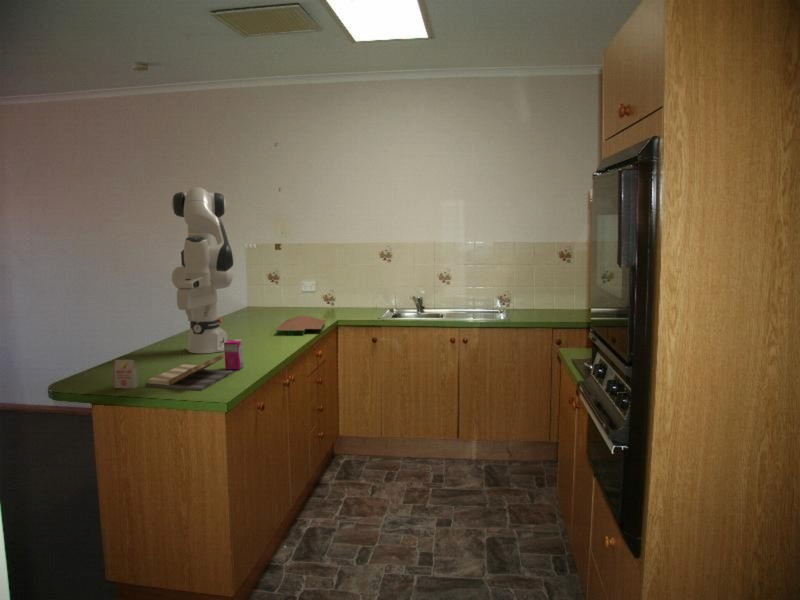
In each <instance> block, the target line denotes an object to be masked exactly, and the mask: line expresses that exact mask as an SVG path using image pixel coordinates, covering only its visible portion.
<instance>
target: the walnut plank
mask: <svg viewBox="0 0 800 600" xmlns="http://www.w3.org/2000/svg"><path fill="white" fill-rule="evenodd" d="M223 359H225V355H224V354H223V353H222V354H219V355H217V356H216V357H214V358H210V359H209V360H206V361H205V362H202V363H200V364H196V365H197V366H195V367H193V368H191V369H189V370H187V371H186V372H184V373H182V374H180V375H178V376H177V377H175V378H173V379H171V380H170V382H171V384H173V383H175V382H177V381H179V380H182V379H184V378H186V377H188V376H190V375H192V374H194V373H196V372H198V371H201V370H203V369H208V367H210V366H212V365H214V364H216V363H217V362H219V361H221V360H223Z"/></svg>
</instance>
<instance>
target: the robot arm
mask: <svg viewBox="0 0 800 600" xmlns="http://www.w3.org/2000/svg"><path fill="white" fill-rule="evenodd" d="M171 209H172V211H173V213H174V215H175V216H177V217H179V218H183V219H184V222H185V223H186V225H187V237H185V239H184V244H183V245H184V246H183V250H181V251H180V254H181V256H180V257H181V259H180V261H181V264H180V265H181V266H177V267H175V268H174V269H173V271H172V273H171V281H172V284H173V286H174V287H175V288H176V289H177V291H176V304H177V308H178V309H179V310H181V311H185V314H186V316H187V320H188V322H190V323H189V325H190V326H189V327H190V331H188V337H187V338H188V339H187V340H188V343H187V346H186V347H185V350H187V351H188V352H189V353H190V354H191V353H192V354H212V353H222V352H224V343H225V342H226V341H228V340H229V339H228V338H229V337H228V333H227V332H226V331H225V330H224V329H222V327H220V324H222V322H223V321H222V318H218V316H217V313H218V312H217V311H218V309H217V303H218V293H217V290H220V289H225V288H226V289H227V288H229V287H230V285H231V284H232V282H233V279H234V278H233V272H232V271H231V268H232V267H234V262H235V256H234V252H233V250H232V248H231V246H230V243H229V239H228V235H227V232H226V229H225V226H224V223H223V221H222V219H221V217H223V216H224V215H225V212H226V211H227V201H226V199H225V196H224V195H223V194H222V193H219V192H210V191H209V192H208V191H207V190H206V189H205V188H204V187H198V186H197V187H193V188H190V189H189V190H188V191H187V192H183V191H180V192H175V194H173V197H172V198H171ZM215 241H216V242H217V244H215Z"/></svg>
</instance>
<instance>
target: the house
mask: <svg viewBox="0 0 800 600" xmlns="http://www.w3.org/2000/svg"><path fill="white" fill-rule="evenodd" d="M326 321H327V320H326V319H323V318H318V317H314V316H308V315H304V314H301V315H299V316H295V317H292V318H287V319H285V320H284V321H283V322H282V323H281V324H280V325H279V326H278V327H277V328H276V329H275V331H276V332H277V334H276V335H277V336H279V335H280V334H281V333H282V332H287V333H284V336H289V335H291V336H294V334H295V332H300V334H301V335H302V336H304V335H305V333H306V332H307V331H312V330H313V331H318V330H319V333H321V332H322V331H323V328H325V325H326V324H325V323H326ZM306 330H307V331H306ZM286 334H287V335H286Z"/></svg>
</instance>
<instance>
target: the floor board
mask: <svg viewBox="0 0 800 600" xmlns="http://www.w3.org/2000/svg"><path fill="white" fill-rule="evenodd" d="M197 365H198V364H186V363H183V364H181V365H179V366H176V367H174V368H172V369H169V370H167V371H165V372H162V373H160V374H158V375H156V376H153V377H151V378H148V382H146V383H145V387H148V388H149V387H150V388H151V387H152V388H160V389H161V388H163V389H175V390H179V389H180V390H186V391H187V390H190V391H200V392H201V391H203V390H205V389H207V388H209V387H211V386H213V385H215V384H217V383H218V382H221V381H222V380H224V379H226V378H228V377H229V376H228V375H230V374H231V375H233V374H234V370H226V369H225V370H223V369H211V368H205V369H203V370H201V371H198V372H196V373H194V374H192V375H190V376H188V377H186V378H184V379H182V380H179V381H177V382H175V383H173V384H171V382H170V380H171V379H173V378H175V377H177V376H178V375H180V374H182V373H184V372H186V371H187V370H189V369H191V368H193V367H195V366H197ZM232 373H233V374H232ZM231 375H230V376H231ZM227 376H228V377H227ZM225 377H226V378H225ZM223 378H224V379H223ZM216 382H217V383H216Z"/></svg>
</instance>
